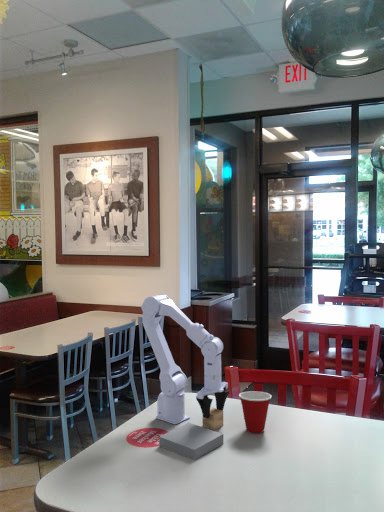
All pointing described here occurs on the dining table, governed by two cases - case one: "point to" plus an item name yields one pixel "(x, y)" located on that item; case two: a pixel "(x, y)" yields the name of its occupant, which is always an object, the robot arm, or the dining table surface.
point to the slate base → (191, 440)
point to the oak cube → (214, 419)
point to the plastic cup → (255, 410)
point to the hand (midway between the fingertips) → (213, 414)
